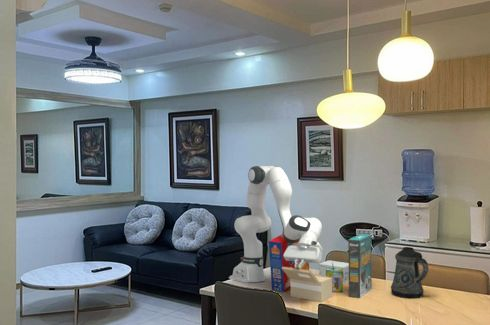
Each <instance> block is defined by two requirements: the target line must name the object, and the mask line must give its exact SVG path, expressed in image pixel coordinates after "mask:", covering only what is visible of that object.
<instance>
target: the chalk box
mask: <svg viewBox="0 0 490 325" xmlns="http://www.w3.org/2000/svg"><path fill="white" fill-rule="evenodd" d="M332 266H333V263H332ZM326 276H327V277H331V278H332V293H333V292H334V293H344V289H343V288H344V287H343V286H344V284H343V283H344V282H343V279H342V268H334V266H333V268H326Z"/></svg>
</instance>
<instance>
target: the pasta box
mask: <svg viewBox="0 0 490 325" xmlns="http://www.w3.org/2000/svg"><path fill="white" fill-rule="evenodd" d="M298 242H299V241H298ZM298 242H297V243H289V242H287V241H286V240H285V239H284V238H283V233H282V234H280V235H278V236H276V237H274V238H272V239H270V240H268V247H269V248H268V249H269V250H268V251H269V265H270V266H269V267H270V281H271V290H273V291H276V292H280V293H286V292H287V291H289V290H291V286H290V282H291V279H290V277H289V276H288V275H287V274H286V273H285V272H284V271H283V270H282V267H289V268H295V261H287V260H285V258H284V256H283V255H284V253H285V251H286V249H287V248H288V246H290V245H292V244H293V245H298ZM300 263H301V262H299V263H298V264H300ZM296 269H297V268H296ZM301 269H302V270H309V271H310V263H307V262H306V263H305V264H304V265H303V266H302V267H301Z"/></svg>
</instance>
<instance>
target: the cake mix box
mask: <svg viewBox="0 0 490 325" xmlns="http://www.w3.org/2000/svg"><path fill="white" fill-rule="evenodd" d="M347 241H348V263H349V281H348V297H349V298H354V299H361V298H363V297H364V296H365V295H366V294H367V293H369V292H370V291H372V284H373V283H372V282H373V281H372V276H373V275H372V234H366V233H365V234H363V233H360V234H357V235H356V236H354V237H351V238H349V239H348V240H347Z"/></svg>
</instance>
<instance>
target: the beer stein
mask: <svg viewBox="0 0 490 325" xmlns="http://www.w3.org/2000/svg"><path fill="white" fill-rule="evenodd" d="M394 257H395V260H396V262H395V270H394V275H393V280H392V283H391V286H390V291H391V294H392V296H394V297H397V298H400V299H401V298H402V299H408V300H409V299H420V298H422V297H423V295H424V292H425V291H424V288H423V285H422V281H423V280H424V279H425V278H426V277H427V275H428V273H429V264H428V261H427V260H426V258H423V255H422V253H421V252H420V251H416V250H415V249H414V247H410V246H404V247H403V248H402V249H401V250H400V251H398V252H397V253H396V254H395V255H394ZM419 265H421V267H422V272H420V267H419Z"/></svg>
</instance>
